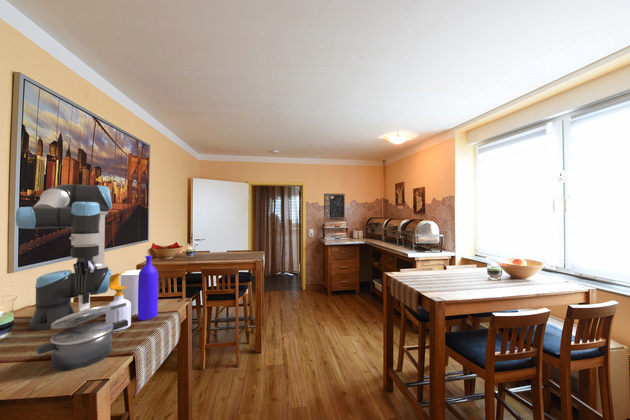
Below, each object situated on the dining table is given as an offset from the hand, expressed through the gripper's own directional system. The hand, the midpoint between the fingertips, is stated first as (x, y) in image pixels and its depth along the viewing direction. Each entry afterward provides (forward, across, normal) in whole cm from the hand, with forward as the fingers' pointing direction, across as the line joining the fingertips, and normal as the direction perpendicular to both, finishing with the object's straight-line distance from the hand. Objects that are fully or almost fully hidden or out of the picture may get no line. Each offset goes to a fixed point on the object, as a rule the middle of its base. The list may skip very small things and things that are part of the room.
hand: (84, 312), depth 93 cm
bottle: (+16, -18, +31) cm, 40 cm away
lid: (+3, -2, +3) cm, 4 cm away
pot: (+16, 0, +1) cm, 16 cm away
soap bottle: (+16, -17, +18) cm, 30 cm away
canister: (+16, -33, +33) cm, 50 cm away
